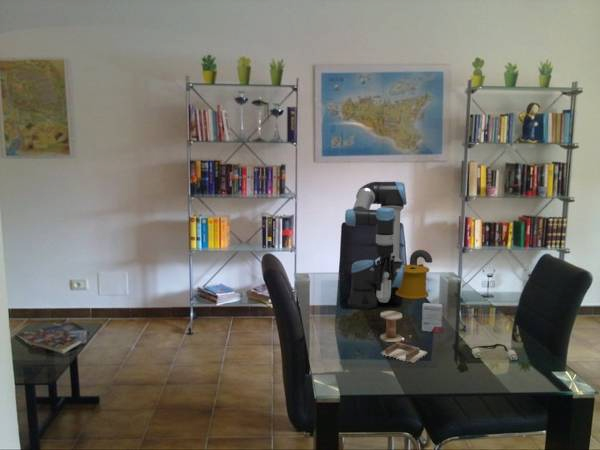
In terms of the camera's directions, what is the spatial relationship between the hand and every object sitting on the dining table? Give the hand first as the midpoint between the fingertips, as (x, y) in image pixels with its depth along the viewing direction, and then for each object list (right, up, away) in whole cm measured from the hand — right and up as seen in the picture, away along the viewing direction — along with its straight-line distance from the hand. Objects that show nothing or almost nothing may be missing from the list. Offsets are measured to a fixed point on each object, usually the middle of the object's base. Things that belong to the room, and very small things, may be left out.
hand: (383, 295), depth 216 cm
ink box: (+22, -16, +6) cm, 28 cm away
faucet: (+36, -4, +88) cm, 95 cm away
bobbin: (+2, -18, -5) cm, 18 cm away
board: (+5, -20, -21) cm, 29 cm away
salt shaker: (0, -3, 0) cm, 3 cm away
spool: (+26, -8, +62) cm, 67 cm away
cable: (+39, -20, -19) cm, 48 cm away
